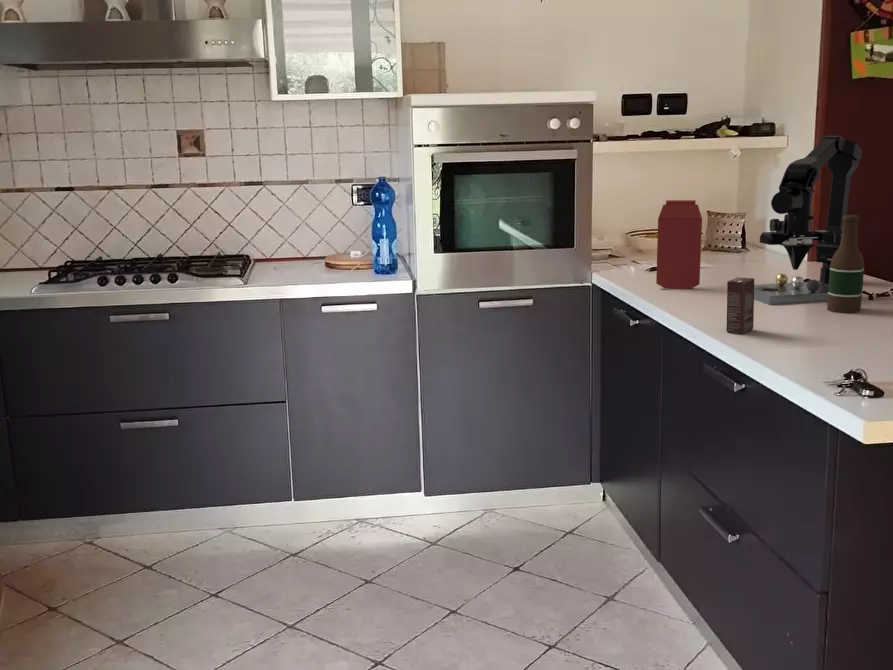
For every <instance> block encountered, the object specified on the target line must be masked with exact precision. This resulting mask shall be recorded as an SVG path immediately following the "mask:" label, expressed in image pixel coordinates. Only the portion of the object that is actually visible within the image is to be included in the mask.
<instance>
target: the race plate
mask: <svg viewBox="0 0 893 670" xmlns="http://www.w3.org/2000/svg"><path fill="white" fill-rule="evenodd" d="M817 281H818V282H819V281H820V280H817ZM808 282H809V281H804V284H803V285H802V286H801V287H800V288H795V287H793V286H792V284H791V282H787V283H786V284H784V285H778V284H777V283H767V284H766V283H765V284H763V283H762V284H754V301H756V302H759V303H762V304H764V305H767V306H775V305H776V306H777V305H787V304H788V305H790V304H802V303H803V304H804V303H816V302H818V303H819V302H827V300H828V287H829V284H825V283H822V282H819V284H820V287H819V289H818V290H817V291H815V292H811V291H809V290H808V289H807V283H808Z"/></svg>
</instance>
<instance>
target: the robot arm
mask: <svg viewBox="0 0 893 670" xmlns="http://www.w3.org/2000/svg"><path fill="white" fill-rule="evenodd" d="M862 156H863V150H862V148H861V146H859V145H858V143H856V142H853V141H851V140H849V139H846V138H845V137H843V136H841V135H826V136H823V137H822V139H821V141H820V142H819V143H818V144H817V145H816V146H815V147H814V148H813V149H812V150H811V151H810V152H809V153H808V154H807V155H806V156H805V157H803V158H799V159H796V160H794V161H792V162H791V163H790V164H788V166H787V168H786V169H785V172H784V173H783V175H782V178H781V182H780V183H779V186H778V192H776V193H775V194H774V195H773V197H772V199H771V202H770V205H771V208H772V210H773V211H774V212H775V213H776V214H779V215H784V217H783V218H784V219H783V220H780V219H779V218H772V219H770V220H769V232H768V231H765V232H764V231H763V232H762V233H761V234H760V236H759V243H760V244H764V245H768V246H769V245H770V246H778V245H779V246H783V248H784V249H785V250H786V252H787V255H788V257H789V261H790V264H791V268H792V270H794V271H796V270H799V268H800V266H801V264H802V262H803V261H804V259H805V258H806V255H807V254H808V253H809V252H810V250H811V249H812V248H813V247H815V243H813V241H818V242H817V245H816V256H817V257H816V258H817V263H822V267H821V268H820V276H819V280H818V281H819V282H822V283H825V284H829V273H830V264H831V260H832V257H833V255H834V254H835V252H836V251H837V250H838V249H839V246H840V242H841V236H842V229H843V222H844V221H843V220H842V219H843V216H845V215H848V214H847V213H848V206H849V205H848V204H849V197H850V191H851V190H850V188H851V180H852V179H851V178H852V176H853V174H854V173H855V172H856V170H857V169H858V168H859V166H860V161H861V158H862ZM826 164H827V167H828V170H829V171H830V173H831V175H832V176H831V177H832V178H831V185H830V187H831V188H830V195H829V196H830V197H829V202H828V203H829V204H828V205H829V206H828V212H827V213H828V214H827V222H826V223H827V224H826V227H825V229H822V230H821V229H818V230H817V229H816V230H815V229H814V230H813V229H812V230H810V229H811V228H810V227H811V221H812V220H814V215H811V214H812V213H811V212H812V201H813V194H814V193H816V190H815V188H814V186H815V184H816V183H817V181H818V179H819V178H820V176H821V175H820V171H821V170H822V168H823V167H824V166H825V165H826Z"/></svg>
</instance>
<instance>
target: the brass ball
mask: <svg viewBox="0 0 893 670" xmlns="http://www.w3.org/2000/svg"><path fill="white" fill-rule="evenodd" d="M788 280H789V279H788V276H787V274H785V273H779V274H777V275H776V276H775V284H778V285H784V284H786V283H788Z"/></svg>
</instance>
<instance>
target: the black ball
mask: <svg viewBox="0 0 893 670" xmlns="http://www.w3.org/2000/svg"><path fill="white" fill-rule="evenodd" d="M818 281H819V280H816V279H810V280H808V281H807V282H808V283H807V289H808V290H809V291H811V292H815V291H817V290H818V289H819V287H820V284H819V282H818Z"/></svg>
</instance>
